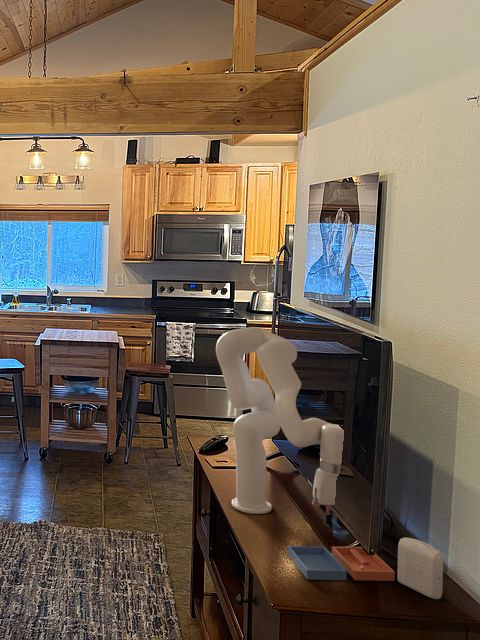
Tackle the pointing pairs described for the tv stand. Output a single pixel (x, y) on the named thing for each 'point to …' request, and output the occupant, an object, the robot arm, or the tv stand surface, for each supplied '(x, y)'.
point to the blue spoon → (339, 531)
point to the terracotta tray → (355, 570)
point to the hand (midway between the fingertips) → (332, 525)
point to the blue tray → (317, 563)
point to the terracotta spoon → (361, 561)
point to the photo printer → (420, 567)
